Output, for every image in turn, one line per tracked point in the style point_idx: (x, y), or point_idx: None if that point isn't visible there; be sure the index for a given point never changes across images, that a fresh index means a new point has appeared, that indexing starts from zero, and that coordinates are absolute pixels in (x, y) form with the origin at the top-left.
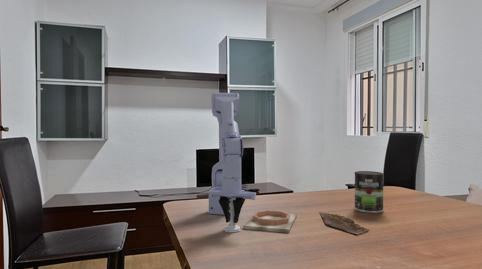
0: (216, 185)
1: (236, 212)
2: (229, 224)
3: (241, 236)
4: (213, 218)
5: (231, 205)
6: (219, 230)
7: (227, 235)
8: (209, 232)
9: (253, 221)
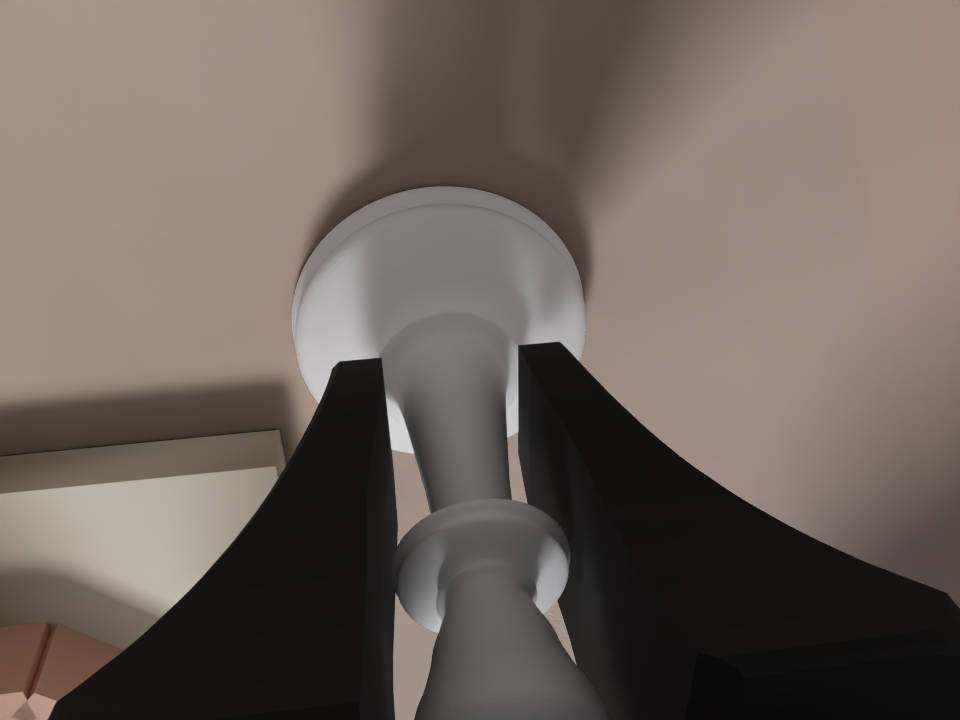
0: None
1: (294, 500)
2: (489, 341)
3: (94, 43)
4: None
5: (492, 671)
6: (651, 226)
7: (399, 3)
8: (808, 57)
9: None
